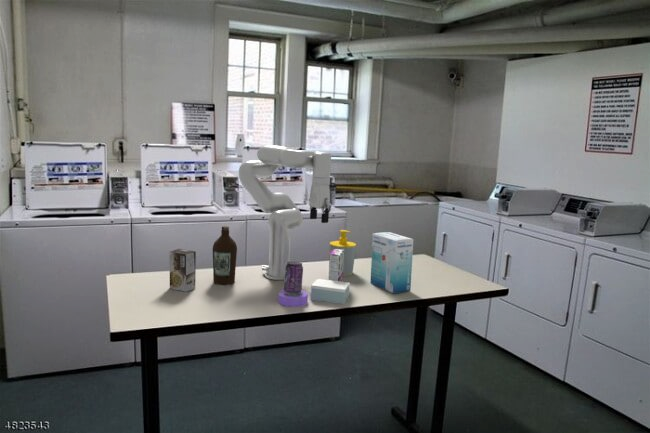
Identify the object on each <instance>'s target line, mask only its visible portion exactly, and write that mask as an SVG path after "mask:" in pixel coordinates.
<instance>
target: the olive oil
mask: <svg viewBox="0 0 650 433" xmlns="http://www.w3.org/2000/svg"><path fill="white" fill-rule="evenodd" d="M220 231H221V234H220V236H219V237H218V238H217V239H216V240H215V241H214V242H213V245H212V263H213V264H212V269H213V270H212V272H213V274H212V276H213V277H212V278H213V279H212V280H213V283H214V284H216V285H219V286H227V285H232V284H234V283H235V282H236V268H237V255H238V245H237V243H236V241H235V240H234V239H233V237H231V236H230V226H226V225H224V226H221V230H220Z"/></svg>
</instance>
